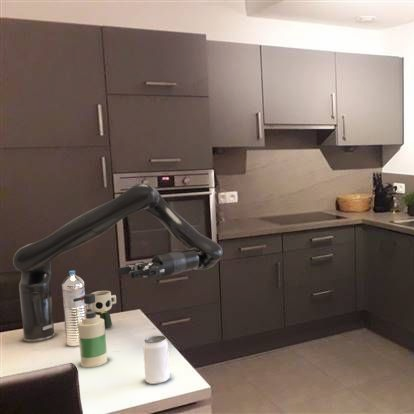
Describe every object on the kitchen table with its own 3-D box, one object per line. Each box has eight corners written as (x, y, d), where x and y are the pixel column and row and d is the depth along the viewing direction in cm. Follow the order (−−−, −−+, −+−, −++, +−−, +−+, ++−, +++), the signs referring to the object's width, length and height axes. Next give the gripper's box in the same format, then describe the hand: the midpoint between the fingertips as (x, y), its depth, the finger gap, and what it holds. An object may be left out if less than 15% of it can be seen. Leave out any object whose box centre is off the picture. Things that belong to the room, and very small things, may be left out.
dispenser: (100, 356, 173) (96, 307, 171) (111, 361, 169) (108, 311, 167) (76, 363, 168) (72, 313, 166) (87, 369, 163) (83, 317, 161)
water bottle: (79, 347, 181) (73, 273, 178) (61, 346, 183) (55, 273, 180) (93, 340, 188) (88, 269, 185) (76, 339, 189) (70, 268, 186)
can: (149, 375, 158) (147, 335, 157) (172, 374, 159) (170, 334, 157) (142, 385, 152) (139, 343, 150) (166, 383, 152) (163, 342, 151)
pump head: (92, 305, 168) (91, 293, 168) (97, 307, 166) (96, 294, 166) (71, 310, 163) (70, 297, 163) (76, 312, 161) (75, 299, 161)
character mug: (90, 333, 195) (87, 298, 193) (83, 328, 200) (80, 294, 198) (121, 326, 202) (119, 292, 201) (114, 321, 207) (112, 288, 206)
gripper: (157, 251, 190) (111, 259, 178) (180, 255, 182) (134, 264, 169) (158, 272, 191) (113, 282, 179) (182, 277, 183) (136, 288, 170)
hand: (123, 273), depth 174 cm, fingers open, 8 cm apart
